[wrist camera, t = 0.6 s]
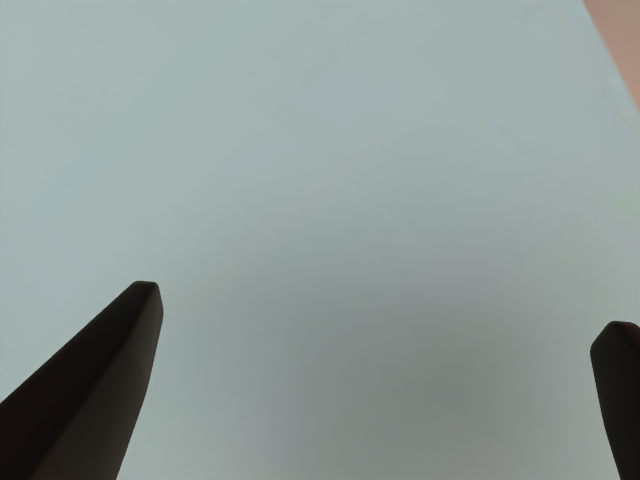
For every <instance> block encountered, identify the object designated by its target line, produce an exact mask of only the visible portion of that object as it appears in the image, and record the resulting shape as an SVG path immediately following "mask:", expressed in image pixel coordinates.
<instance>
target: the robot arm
mask: <svg viewBox="0 0 640 480" xmlns="http://www.w3.org/2000/svg"><path fill="white" fill-rule="evenodd" d="M162 321H163V305H162V300H161V295H160V290H159V286H158V284H157V283H155V282H149V281H136V282H134V283H132V284H131V285H130V286H129V287H128V288H127V289H126V290H124V291H123V292H122V293H121V294H120V295H119V296H118V297H117V298H116V299H115V300H113V301H112V302H111V303H110V304H109V305H108V306H107V307H106V308H105V309H104V310H102V311H101V312H100V313H99V314H98V315H97V316H96V317H95V318H94V319H93V320H91V321H90V322H89V323H88V324H87V325H86V326H85V327H84V328H83V329H82V330H80V331H79V332H78V333H77V334H76V335H75V336H74V337H73V338H72V339H71V340H69V341H68V342H67V343H66V344H65V345H64V346H63V347H62V348H61V349H60V350H59V351H57V352H56V353H55V354H54V355H53V356H52V357H51V358H50V359H49V360H48V361H46V362H45V363H44V364H43V365H42V366H41V367H40V368H39V369H38V370H37V371H35V372H34V373H33V374H32V375H31V376H30V377H29V378H28V379H27V380H26V381H24V382H23V383H22V384H21V385H20V386H19V387H18V388H17V389H16V390H15V391H13V392H12V393H11V394H10V395H9V396H8V397H7V398H6V399H5V400H4V401H2V402H1V403H0V480H116V478H117V476H118V473H119V470H120V467H121V464H122V461H123V458H124V456H125V453H126V450H127V447H128V444H129V441H130V438H131V436H132V433H133V430H134V427H135V424H136V421H137V418H138V416H139V413H140V410H141V407H142V404H143V401H144V398H145V395H146V392H147V388H148V384H149V380H150V375H151V371H152V366H153V362H154V357H155V353H156V348H157V344H158V339H159V335H160V330H161V326H162ZM590 357H591V362H592V367H593V372H594V377H595V383H596V388H597V393H598V398H599V403H600V408H601V413H602V418H603V422H604V426H605V430H606V434H607V437H608V440H609V444H610V447H611V450H612V453H613V456H614V460H615V463H616V466H617V469H618V473H619V476H620V479H621V480H640V327H638V326H637V325H636V324H634V323H631V322H622V321H612V322H610V323H608V324H607V325H606V327H605V328H604V329H603V331H602V332H601V333H600V334H599V336H598V337H597V338H596V339H595V341H594V342H593V343H592V345H591V349H590Z"/></svg>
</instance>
